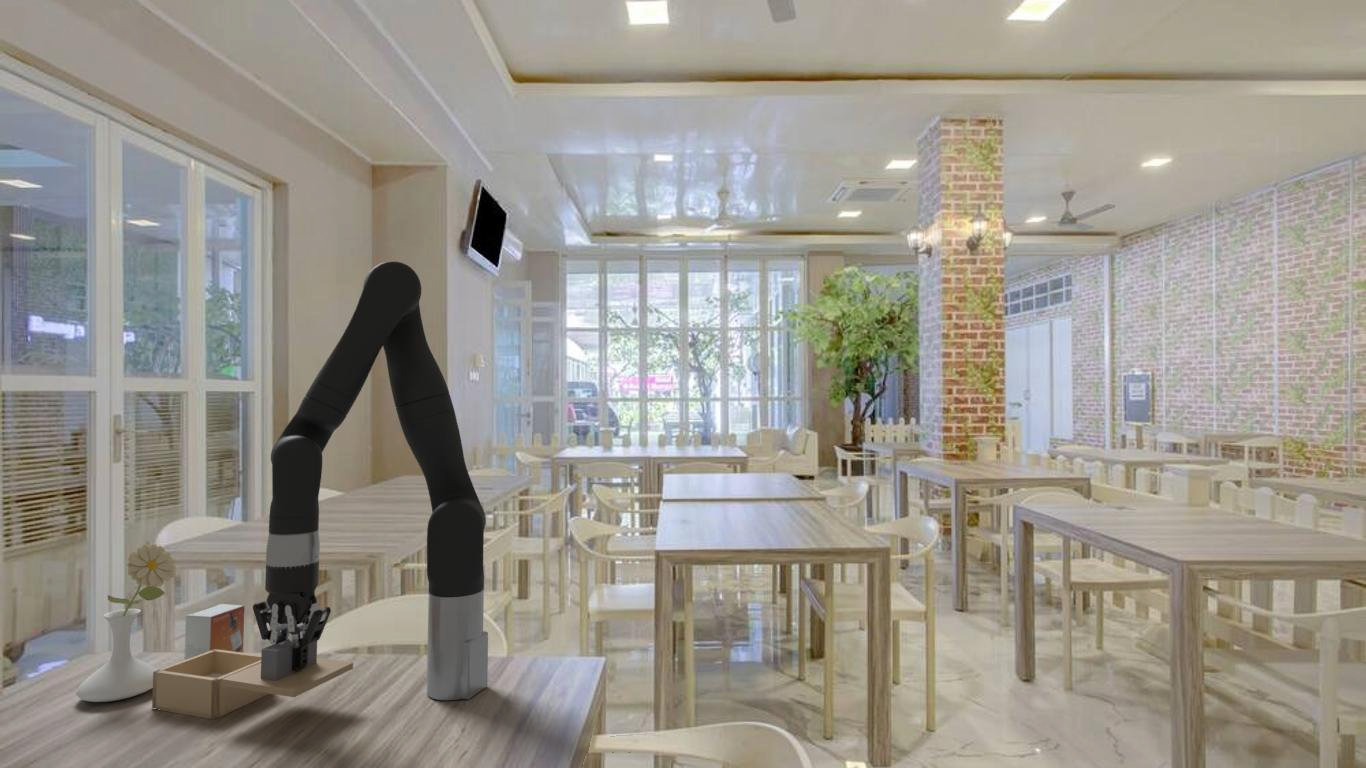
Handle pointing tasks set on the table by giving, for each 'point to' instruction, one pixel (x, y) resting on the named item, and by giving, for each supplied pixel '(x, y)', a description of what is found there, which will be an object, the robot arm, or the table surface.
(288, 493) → the robot arm
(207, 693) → the box
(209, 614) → the small box
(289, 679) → the mailer lid
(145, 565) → the flower in vase
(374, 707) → the table surface
